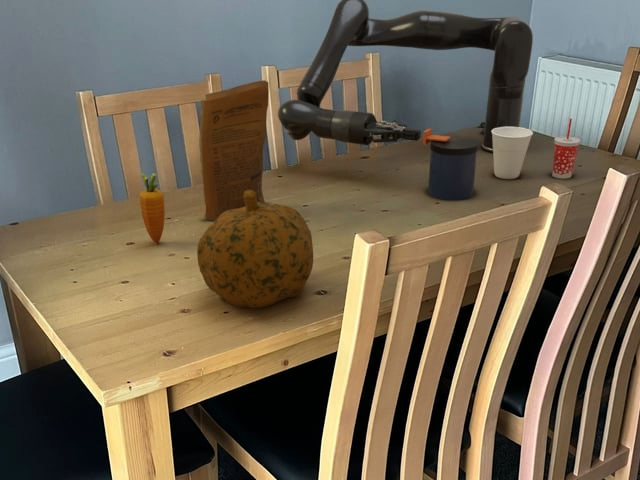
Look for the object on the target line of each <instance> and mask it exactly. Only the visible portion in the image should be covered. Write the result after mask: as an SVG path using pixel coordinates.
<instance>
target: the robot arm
mask: <svg viewBox="0 0 640 480" xmlns="http://www.w3.org/2000/svg"><path fill="white" fill-rule="evenodd" d="M533 42H534V34H533V30H532V28H531V27H530V25H529V23H528V24H527V22H526V21H524V20H523V19H521V18H519V17H516V16H509V17H508V16H506V17H505V16H504V17H474V16H469V15H464V14H458V13H453V12H446V11H445V12H444V11H435V10H416V11H411V12H409V13H405V14H404V15H399V16H397V17H394V18H387V19H380V18H371V17H370V10H369V6H368V4H367V2H366V1H365V0H340V1H339V2H338V4H337V5H336V7H335V9H334V12H333V15H332V18H331V21H330V24H329V27H328V30H327V31H326V34H325V36H324V38H323V41H322V43H321V45H320V47H319V49H318V50H317V52H316V54H315V56H314V58H313V60H312V62H311V64H310V65H309V67H308V69H307V71H306V72H305V73H304V75H303V77H302V79H301V81H300V83H299V85H298V86H297V89H296V98H297V99H290V100H286V101H284V102H282V104H280V106H279V107H278V111H277V117H278V120H279V123H280V124H281V125H282V127H283V128H284V131H285V132H286V134H287V135H288V137H289V138H290V139H292V140H294V141H301V140H304V139H305V138H307V137H308V136H309V135H310V134H311V132H312V133H313V134H314V135H315V137H317V138H321V139H327V140H333V141H334V140H335V141H339V142H342V143H348V144H355V145H363V146H370V145H371V144H372V143H374V144H377V143H378V144H379V143H393V142H394V143H396V142H398V141H403V140H407V141H413V142H415V141H416V142H417V141H419V140H420V139H421V135H422V134H421V133H422V131H421V129H414V128H408V126H407V124H405V123H402V122H401V121H398V120H397V119H394V120H392V122H389V121H388V120H380V121H378V120H377V118H376V115H375V114H374V113H372V112H365V111H356V110H347V109H346V110H345V109H344V110H343V109H342V110H337V109H329V108H323V107H321V103H322V101H323V100H324V98H325V97H326V94H327V93H328V92H329V91H328V90H329V89H330V88H331V85H332V83H333V81H334V79H335V77H336V74H337V72H338V69H339V66H340V63H341V62H342V58H343V56H344V54H345V52H346V50H347V48H348V47H379V46H381V47H398V48H412V49H420V50H429V51H430V50H431V51H450V50H459V49H466V48H467V49H468V48H475V49H483V50H488V51H494V55H493V63H492V68H491V69H492V70H491V71H490V74H489V84H488V94H487V95H488V96H487V104H486V111H485V112H486V114H485V121H482V122H480V123H479V127H483V126H484V128H483V129H481V133H482V134H483V140H482V146H481V148H482V150H484V151H487V152H490V153H493V139H492V132H491V131H492V130H493V129H495V128H498V127H521V126H520V125H521V120H522V119H521V118H522V112H523V111H522V110H523V103H524V95H525V87H526V80H527V76H528V73H529V69H530V65H531V56H532V50H533V44H534V43H533Z"/></svg>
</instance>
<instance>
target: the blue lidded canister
mask: <svg viewBox="0 0 640 480" xmlns="http://www.w3.org/2000/svg"><path fill="white" fill-rule="evenodd" d="M447 136H448V137H451V139H449V140H448V141H446V142H444V141H436V140H431V142H430V146H429V147H430V158H429V174H428V184H427V185H428V186H427V187H428V189H427V194H428V195H429V196H431V197H432V198H435V199H438V200H443V201H444V200H445V201H460V200H467V199H470V198H471V197H473V195H474V189H475V188H474V187H475V179H476V169H477V160H478V151H479V148H480V142H479V140H477V139H474V138H471V137H468V136H460V135H447Z"/></svg>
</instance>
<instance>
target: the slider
mask: <svg viewBox="0 0 640 480" xmlns="http://www.w3.org/2000/svg"><path fill="white" fill-rule="evenodd" d="M432 132H433V129H432V128H427V129H425V130H424V131H423V135H422V145H424V146H426V145H428V144H430V143H431V140H436V141H444V142H446V141H448V140H449V139H451V137H448V136H449V135H438V134H432Z"/></svg>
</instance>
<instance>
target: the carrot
mask: <svg viewBox="0 0 640 480" xmlns="http://www.w3.org/2000/svg"><path fill="white" fill-rule="evenodd" d="M140 175H141V178H142V179H143V181H144V186H145V188H146V189H144V190H142V191H141V193H140V194H139V203H140V211H141V216H142V220H143V223H144V226H145V229H146V232H147V233H148V235H149V237H150V239H151V240H152V242H153V243H155V244H156V245H158V244H159V243H160V240H161V239H162V236H163V233H164V228H165V219H166V218H165V216H166V211H165V210H166V209H165V196H164V192H163V191H162V190H160V189H157V187H158V186H159V183H158V182H155V181H156V178H157V176H158V174H156V173H152V174H151V176H150V179H149V177H148V176H146V175H145V173H142V174H140Z"/></svg>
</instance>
